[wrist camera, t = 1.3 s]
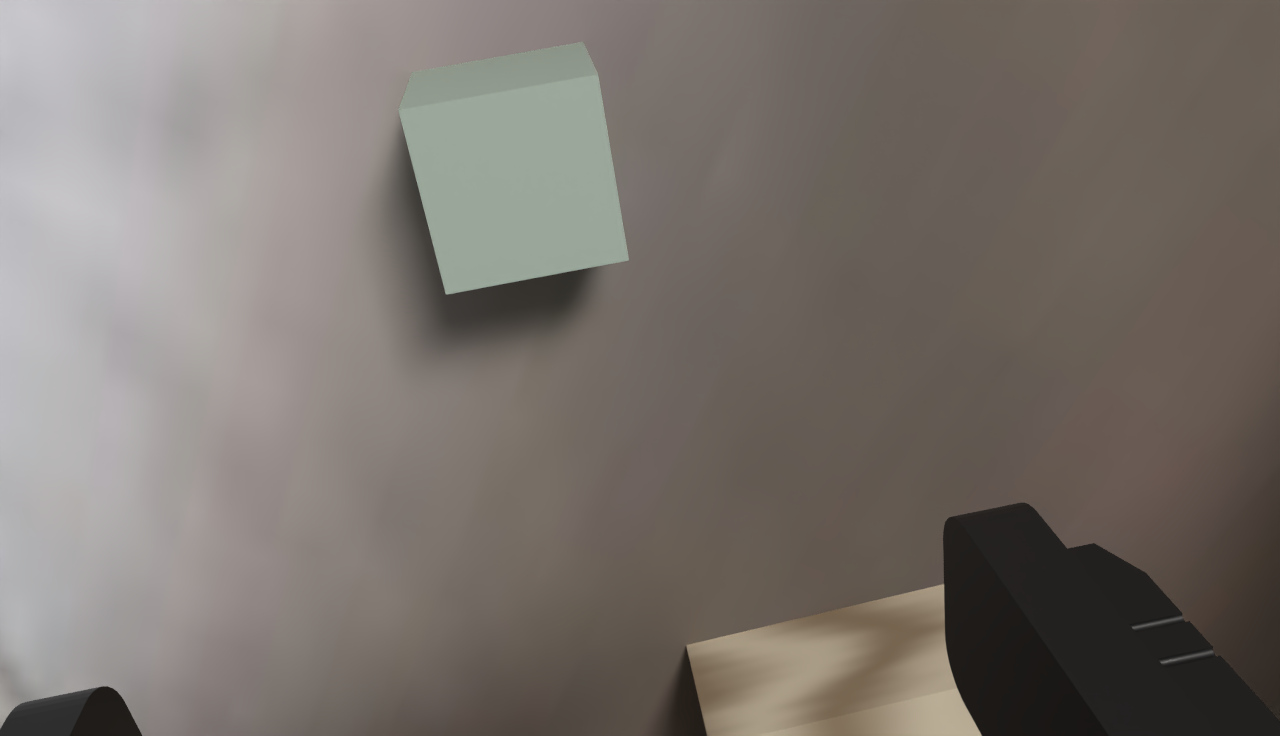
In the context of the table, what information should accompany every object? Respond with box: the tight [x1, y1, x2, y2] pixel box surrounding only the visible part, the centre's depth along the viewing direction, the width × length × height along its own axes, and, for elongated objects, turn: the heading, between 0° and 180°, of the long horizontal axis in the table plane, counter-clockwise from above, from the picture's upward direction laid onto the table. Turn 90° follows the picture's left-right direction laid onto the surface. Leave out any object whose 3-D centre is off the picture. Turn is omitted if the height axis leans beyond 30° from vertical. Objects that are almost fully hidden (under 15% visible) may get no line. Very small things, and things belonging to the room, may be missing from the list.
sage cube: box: [398, 42, 629, 295], centre depth 26 cm, size 4×4×4 cm
